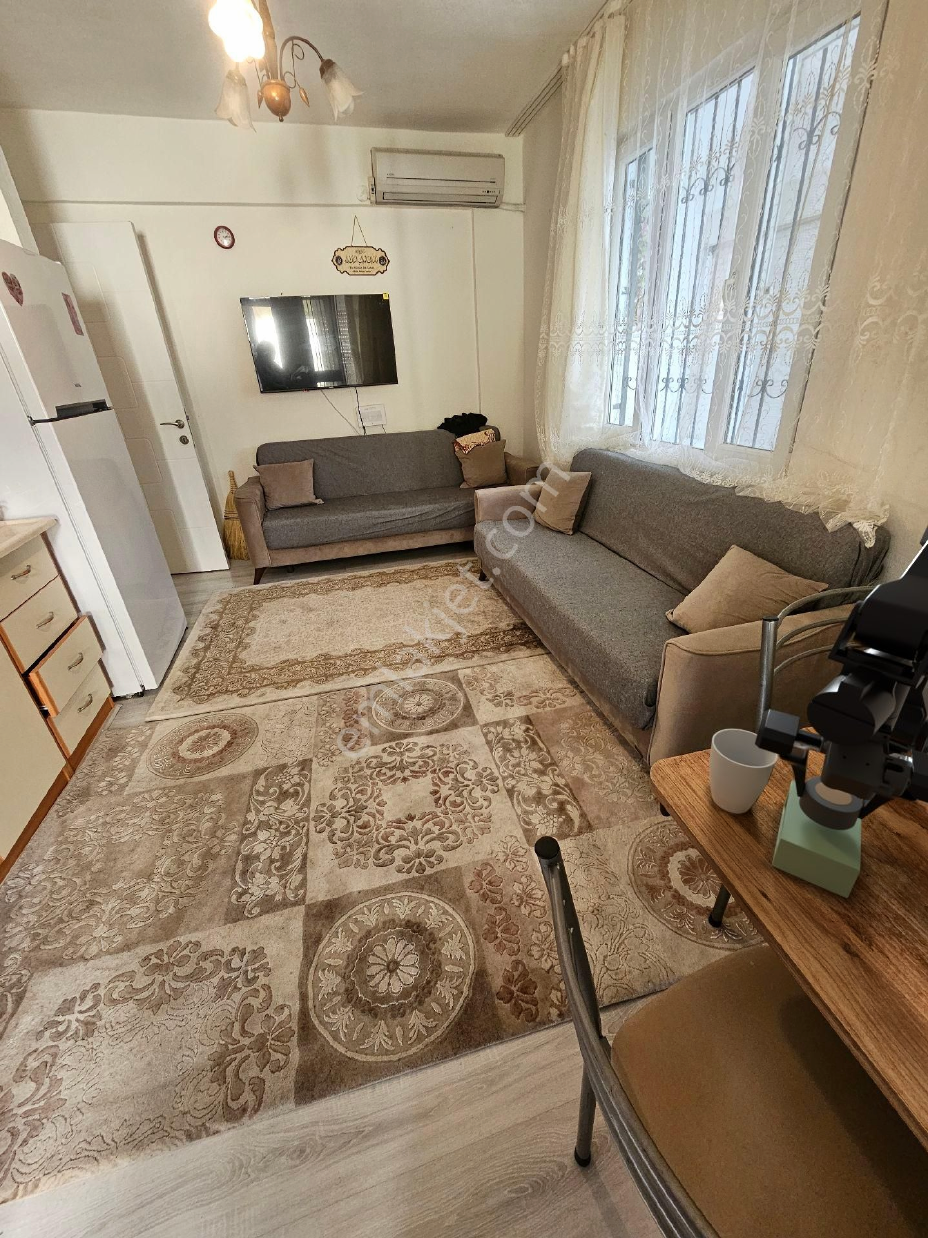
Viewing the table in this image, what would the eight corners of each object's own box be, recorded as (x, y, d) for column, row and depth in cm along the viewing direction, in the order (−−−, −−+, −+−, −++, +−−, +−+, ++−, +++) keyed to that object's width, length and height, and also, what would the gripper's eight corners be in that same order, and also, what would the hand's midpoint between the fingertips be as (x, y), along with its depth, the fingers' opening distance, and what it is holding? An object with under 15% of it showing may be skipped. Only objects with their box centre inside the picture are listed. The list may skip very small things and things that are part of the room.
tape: (801, 787, 68) (807, 769, 66) (856, 806, 64) (863, 788, 63) (796, 816, 63) (802, 798, 62) (854, 838, 60) (862, 820, 59)
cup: (769, 825, 70) (786, 770, 66) (707, 817, 72) (720, 763, 67) (752, 783, 77) (766, 731, 73) (695, 777, 79) (706, 726, 74)
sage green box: (783, 806, 73) (791, 780, 71) (850, 831, 69) (862, 804, 67) (771, 866, 65) (780, 838, 62) (847, 899, 60) (860, 870, 58)
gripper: (762, 713, 56) (734, 815, 63) (993, 780, 46) (930, 893, 53) (775, 668, 64) (750, 763, 71) (975, 717, 54) (923, 822, 61)
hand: (828, 805), depth 63 cm, fingers closed on tape, 6 cm apart
